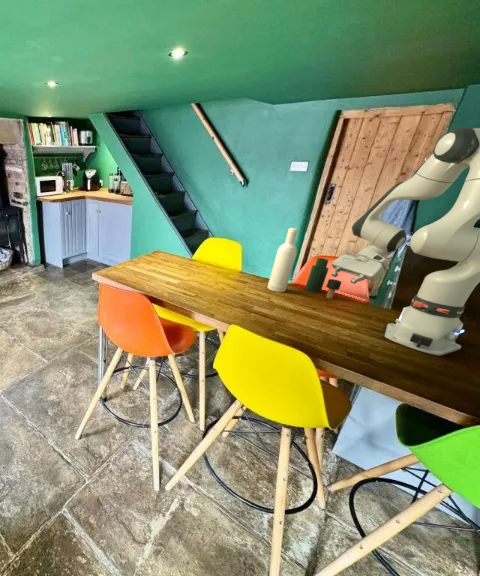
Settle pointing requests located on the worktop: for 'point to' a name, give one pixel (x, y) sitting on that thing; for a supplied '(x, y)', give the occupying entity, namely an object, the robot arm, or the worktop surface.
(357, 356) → the worktop surface
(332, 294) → the stopper
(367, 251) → the robot arm
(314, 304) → the worktop surface
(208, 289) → the worktop surface
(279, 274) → the bottle
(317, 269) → the bottle
